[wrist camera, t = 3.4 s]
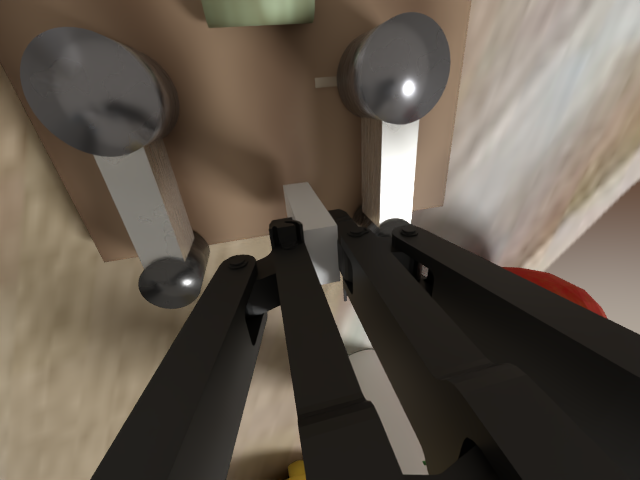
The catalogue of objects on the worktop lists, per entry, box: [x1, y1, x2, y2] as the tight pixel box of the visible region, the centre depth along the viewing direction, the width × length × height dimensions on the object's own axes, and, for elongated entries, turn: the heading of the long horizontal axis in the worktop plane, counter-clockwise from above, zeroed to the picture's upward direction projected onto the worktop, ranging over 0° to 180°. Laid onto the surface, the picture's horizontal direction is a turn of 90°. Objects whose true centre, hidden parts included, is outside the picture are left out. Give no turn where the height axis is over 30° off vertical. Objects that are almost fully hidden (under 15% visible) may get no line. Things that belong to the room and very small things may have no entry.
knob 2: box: [337, 12, 451, 237], centre depth 16 cm, size 13×4×4 cm, turn 4°
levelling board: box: [0, 0, 471, 262], centre depth 17 cm, size 24×14×4 cm, turn 94°
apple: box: [502, 267, 607, 318], centre depth 25 cm, size 9×8×11 cm
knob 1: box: [20, 27, 210, 309], centre depth 14 cm, size 13×4×4 cm, turn 4°
